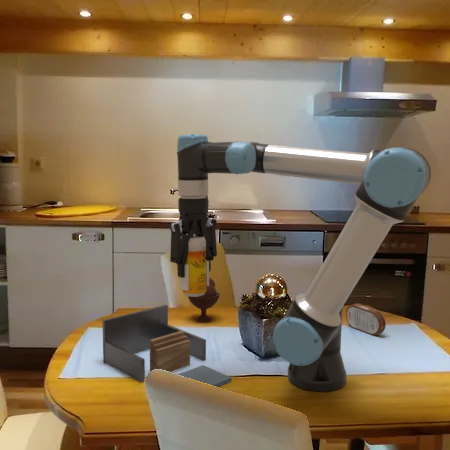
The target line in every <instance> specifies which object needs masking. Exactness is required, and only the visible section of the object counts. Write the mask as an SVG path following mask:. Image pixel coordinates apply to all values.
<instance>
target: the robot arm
mask: <svg viewBox="0 0 450 450" xmlns="http://www.w3.org/2000/svg"><path fill="white" fill-rule="evenodd" d="M208 138H209V137H208V135H206V134H201V133H200V134H198V133H197V134H194V133H193V134H189V133H187V134H180V135H179V136H178V138H177V149H176V150H177V151H176V155H177V190H178V191H177V195H178V197H179V196H180V197H179V198H178V199H177V201H178V202H177V204H178V207H177V208H178V212H179V217H178V220H177V221H175V222H171V223H170V222H169V229H170V255H169V257H170V259H169V262H170V263H173V264H176V266H177V270H176V271H177V277H178V278H179V289H180V290H182V291H183V290H186V291H188V290H189V265H188V264H186V260H187V256H188V251H189V245H188V243H189V240H190V238H193V235H196V236H200V237H204V238H205V240H206V286H209V278H210V272H211V269H212V266H211V265H212V264H211V261H214V259H215V257H217V255H218V250H217V235H216V232H217V231H216V228H217V227H216V226H217V222H218V221H217V219H216V218H210V217H209V216H208V213H209V198H208V197H207V196H209V174H228V175H229V174H232V175H243V174H250V173H257V174H267V175H268V174H269V175H275V176H286V177H294V178H302V179H309V180H317V181H318V180H319V181H326V182H334V183H335V182H336V183H344V184H349V185H350V184H351V185H358V186H359V187H358V188H357V190H356V192H355V194H354V198H355V202H356V207H355V208H354V210H353V211H352V213H351V215H350V216H349V218H348V220H347V221H346V223H345V225H344V227H343V229H342V230H341V232H340V234H339V235H338V237H337V239H336V240H335V241H334V243H333V246H332V247H331V250H329V252H328V254H327V256H326V258H325V260H324V261H323V263H322V265H321V266H320V269H319V270H318V272H317V273H316V275H315V277H314V279H313V280H312V282H311V284H310V286H309V287H308V289H307V290H306V291H301V292H298V293H297V294H296V296H295V298H294V300H293V302H292V303H291V305H290V306H289V309H288V310H287V312H286V313H285V315H284V317H283V318H282V319H280V320H279V321H278V322H277V323H276V325H275V327H274V329H273V331H272V343H273V347H274V349H275V351H276V352H277V354H278V355H279V356H280V358H282V359H283V360H284V361H286V362H287V363H288V364H289V365H288V367H287V379H288V381H289V383H291V384H292V385H293V386H295V387H297V388H300V389H303V390H308V391H312V392H313V391H314V392H333V391H336V390H340V389H341V388H343V387H344V386H345V385H346V384H347V370H346V369H345V364H344V361H343V357H342V353H341V345H342V330H343V329H342V327H343V326H342V325H343V324H342V323H343V310H344V307H343V306H344V305H345V304H346V302H347V300H348V298H349V297H350V295H351V293H352V292H353V290H354V288H355V287H356V285H357V284H358V283H359V281H360V279H361V277H362V276H363V274H364V273H365V270H366V269H367V268H368V266H369V264H370V263H371V262H372V260H373V258H374V256H375V255H376V253H377V251H379V248H380V246H381V244H382V243H383V241H384V240H385V238H386V237H387V235H388V233H389V232H390V230H391V228H392V227H393V226H394V225H395V224H399V223H400V224H401V223H403V222H404V221H405V220H406V218H407V216H408V215H409V213H410V212H411V210H412V208H413V207H414V205H415V204H416V202H417V201H418V199H419V197H420V196H421V195H422V194H423V193H424V192H425V190H427V187H429V184H430V181H431V177H432V170H431V165H430V164H429V161H428V159H427V158H426V157H425V156H424V155H423V154H422V153H421V152H419V151H417V150H415V149H412V148H406V147H390V148H386V149H382V150H381V149H372V150H371V151H369V152H368V153H366V152H357V151H356V152H355V151H345V150H333V149H324V148H313V147H305V146H304V147H301V146H290V145H280V144H267V143H260V142H257V141H256V142H255V141H251V142H248V141H247V142H246V141H238V140H237V141H223V142H222V141H221V142H210V141H209V140H208Z"/></svg>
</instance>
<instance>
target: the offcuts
mask: <svg viewBox="0 0 450 450" xmlns="http://www.w3.org/2000/svg"><path fill="white" fill-rule="evenodd" d="M184 331H185V330H183V331H179V332H175V333H172V334H168V335H165V336H161V337H158V338H155V339H151V340H150V349H149V372H150V371H152V370H154V369H162V370H166V371H169V372H168V373H170V372H173V371H177V370H179V369H183V368H186V367H188V366H190V365H191V355H190V341H189V340H187V336H186V335H185V332H184Z"/></svg>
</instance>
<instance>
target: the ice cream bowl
mask: <svg viewBox="0 0 450 450" xmlns="http://www.w3.org/2000/svg"><path fill="white" fill-rule="evenodd" d="M220 295H221V293H220V292H219V291H217V289H216V282H215V281H214V280H213V278H211V277H209V286H206V292H205V293H204V295H202V296H198V297H190V296H187V297H188V300H189V302H190V303H191V304H192V305H193V306H194V307H196V308H197V309H199V310H200V311H201V312H200V313H201V314H200V315H199V316H197V317H196V318H195V321H196V322H197V323H210V322H211V321H212V318H211V316H209V315H207V311H208V309H211V308H212V307H213V306H215V305H216V304H217V302H218V300H219V298H220Z"/></svg>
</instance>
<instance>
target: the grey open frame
mask: <svg viewBox="0 0 450 450" xmlns="http://www.w3.org/2000/svg"><path fill="white" fill-rule="evenodd" d="M168 308H169V305H168V304H163V305H159V306H154V307H151V308H147V309H142V310H138V311H135V312H130V313H126V314H122V315H118V316H114V317H110V318H104V319H102V355H103V360H102V361H103V363H106V364H108V365H109V366H111V367H113V368H115V369H116V370H117V371H120V372H122V373H124V374H125V375H128V376H129V377H130V378H132V379H135V380H136V381H138V382H139V383H144V382H145V381H144V379H146V378H145V377H146V374H145V372H146V369H145V368H146V365H145V358H143V357H141V356H139V355H137V353H141V352H144V351H147V350H150V340H151V339H155V338H158V337H161V336H165V335H168V334H172V333H175V332H179V331H184V332H185V335H186V336H187V340H189V341H190V357H191V356H192V357H194V358H195V359H198V360H200V361H203V362H204V361H207V339H205V338H204V337H201V336H199V335H196V334H192V333H191V332H187V331H185V330H183V329H180V328H178V327H175V326H172V325H170V324H169V309H168Z"/></svg>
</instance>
